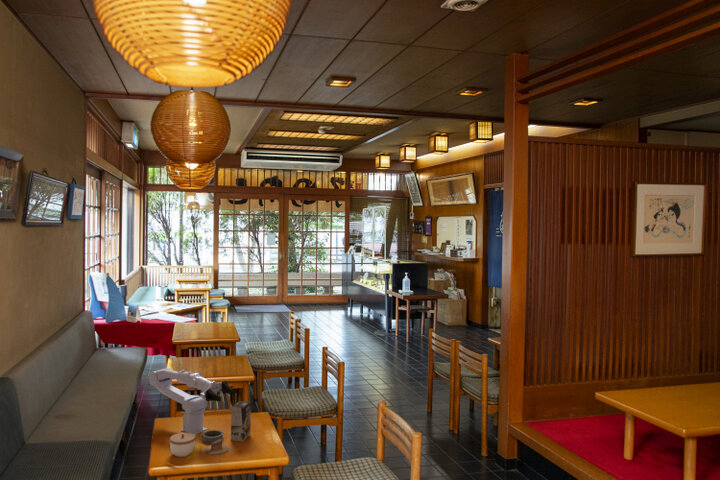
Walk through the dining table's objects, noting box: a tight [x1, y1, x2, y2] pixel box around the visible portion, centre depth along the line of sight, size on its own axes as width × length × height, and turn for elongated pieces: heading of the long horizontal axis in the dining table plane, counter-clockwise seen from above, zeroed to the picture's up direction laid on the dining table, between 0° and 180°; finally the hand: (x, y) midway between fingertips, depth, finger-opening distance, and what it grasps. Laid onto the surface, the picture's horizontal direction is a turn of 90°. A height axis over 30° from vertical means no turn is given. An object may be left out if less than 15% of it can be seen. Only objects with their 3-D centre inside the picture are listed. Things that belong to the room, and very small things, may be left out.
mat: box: [199, 446, 234, 458], centre depth 243 cm, size 10×10×1 cm
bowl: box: [201, 429, 224, 444], centre depth 255 cm, size 9×10×3 cm
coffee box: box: [230, 400, 252, 442], centre depth 258 cm, size 9×6×16 cm
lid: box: [204, 439, 229, 456], centre depth 243 cm, size 10×10×4 cm
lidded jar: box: [169, 432, 197, 458], centre depth 238 cm, size 11×11×9 cm
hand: (226, 395), depth 254 cm, fingers open, 7 cm apart
